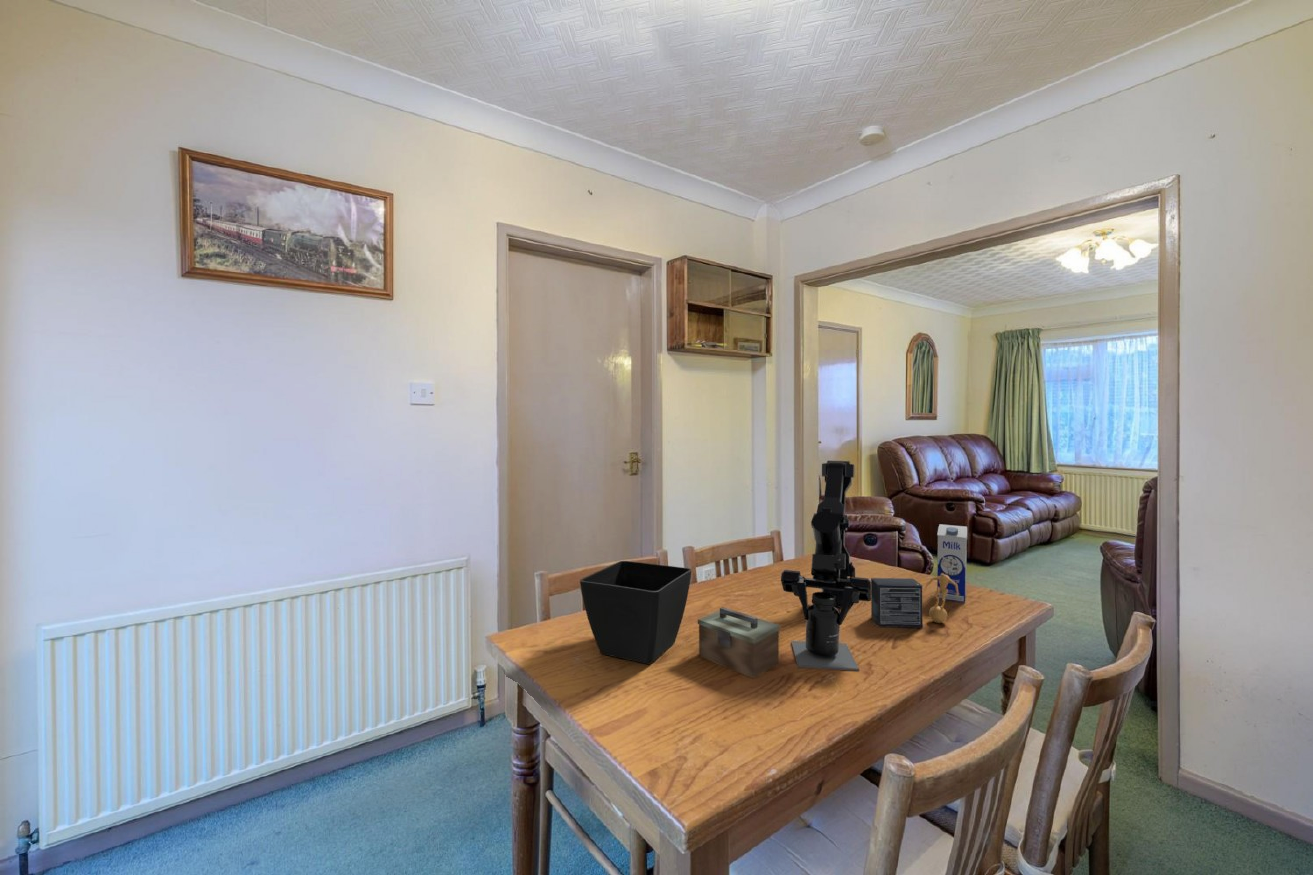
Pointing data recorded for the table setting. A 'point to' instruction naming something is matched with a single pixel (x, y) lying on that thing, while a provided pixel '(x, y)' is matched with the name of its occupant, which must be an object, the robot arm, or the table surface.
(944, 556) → the milk carton
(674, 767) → the table surface
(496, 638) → the table surface
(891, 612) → the small box
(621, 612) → the flower pot
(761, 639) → the toolbox
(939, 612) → the figurine
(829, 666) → the mat
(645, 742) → the table surface
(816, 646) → the supplement bottle
